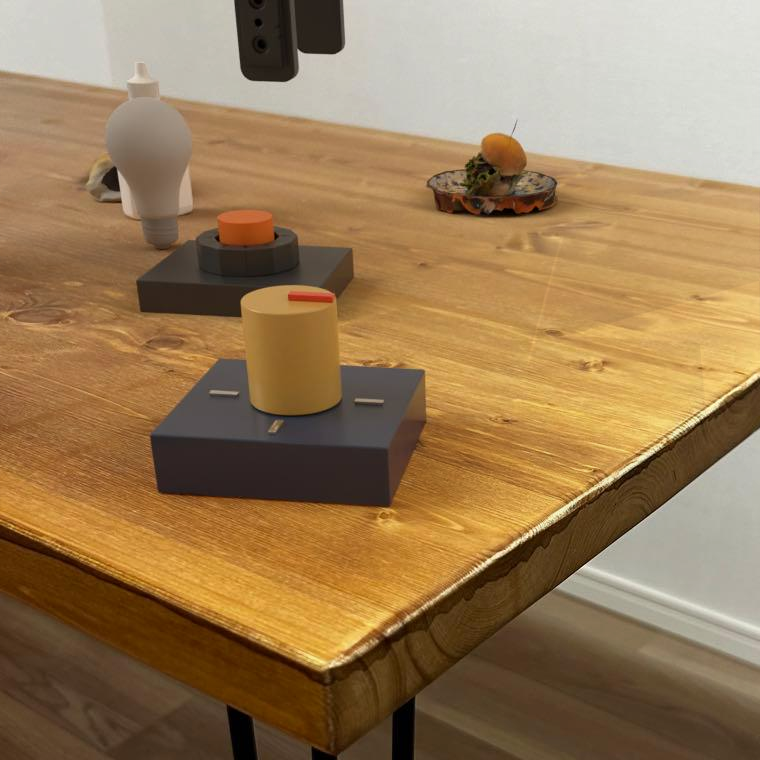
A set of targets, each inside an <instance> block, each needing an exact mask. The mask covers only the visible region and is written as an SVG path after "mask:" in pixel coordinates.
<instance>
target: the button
mask: <svg viewBox="0 0 760 760" xmlns="http://www.w3.org/2000/svg"><path fill="white" fill-rule="evenodd" d="M216 219H217V228H218V229H219V238H220V242H221V243H225V244H229V245H255V244H264V243H268V242H271V241H275V238H274V226H275V225H274V216H273V214H272V213H270V212H268V211H264V210H257V209H238V210H231V211H230V210H229V211H226V212H223V213H219V214H218V215H217V218H216Z"/></svg>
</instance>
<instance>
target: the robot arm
mask: <svg viewBox="0 0 760 760" xmlns="http://www.w3.org/2000/svg"><path fill="white" fill-rule="evenodd" d="M233 4H234V15H235V26H236V35H237V36H236V37H237V46H238V55H239V56H238V59H239V69H240V72H241V74H242V75H243V77H244V78H245V79H246V80H247V81H250V82H268V83H286V82H287V83H288V82H290V81H291V80H293V79H295V78H296V77H297V75H298V73H299V71H300V65H299V64H300V63H299V52H300V53H302V54H306V55H330V56H331V55H336V54H338V53H341V52H342V51H343V50H344V48H345V46H346V30H345V11H344V10H345V8H344V0H233Z"/></svg>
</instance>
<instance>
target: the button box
mask: <svg viewBox="0 0 760 760" xmlns="http://www.w3.org/2000/svg"><path fill="white" fill-rule="evenodd" d="M273 226H274V238H275V241H271V242H268V243H264V244H255V245H229V244H225V243H221V242H220V238H219V229H218V227H216V228H211V229H208V230H204V231H203V232H202V233H200V234H199V235H198V236H196V237H195V239H188V240H187V241H185V242H184V243H183V244H182V245H180V246H179V247H178V248H177V249H175V250H174V251H172V252H171V253H170V254H168V255H167V256H166V257H164V258H163V259H162V260H160V261H159V262H158V263H157V264H155V265H154V266H153V267H151V268H150V269H149V270H148V271H146V272H145V273H144V274H142V275H141V276H139V277H138V278H137V279H136V281H135V283H136V289H137V296H138V297H137V298H138V303H139V310H140V311H139V312H140V313H149V314H168V315H169V314H170V315H186V316H187V315H190V316H206V317H207V316H208V317H225V318H226V317H227V318H242V312H241V299H242V298H243V297H244V296H245V295H246V294H248V293H250V292H253V291H255V290H259V289H263V288H267V287H274V286H285V285H301V286H312V287H317V288H321V289H325V290H327V291H330V292H331V293H335V297H336V301H337V300H338V299H339V297H340V296H341V295H342V294H343V292H344V291H345V290H346V288H347V287H348V286H349V285H350V283H351V282H352V281H353V279H354V278H355V268H354V250H353V248H352V247H343V246H341V247H340V246H322V245H321V246H319V245H302V244H301V245H299V236H298V234H297V233H296V232H294V231H293V230H292V229H290V228H286V227H281V226H277V225H273Z"/></svg>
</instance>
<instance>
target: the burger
mask: <svg viewBox="0 0 760 760" xmlns="http://www.w3.org/2000/svg"><path fill="white" fill-rule="evenodd" d="M518 120H519V119H518V118H516V121H515V124H514V127H513V130H512V132H511V134H510V135H508V134H506V133H503V132H493V133H489V134H487V135H486V136H484V137H483V138H482V139H481V142H480V149H478V151H477V152H476V155H473V156H472V158H471V159H470V158H469V159H468V162H467V163H464V169H462V168H461V169H453V170H446V171H445V170H444V171H441V172H440V173H436V174H434V175H433V176H431V177H430V178H429V179H428V180H427V181H426V185H425V187H426V188H429V189H431V190H432V192H433V197H434V203H435V208H436V210H437V211H441V210H442V211H443V212H448V213H451V214H452V213H453V212H454V208H455V207H454V202H460V203H461V204H462V206H463V207H464V208H465V209H466V210H467V211H468V212H470V213H473V214H475V215H480V214H481V213H482V212H483V213H485V214H486V215H489V214H490V213H492V212H493V211H494V210H495V211H497V210H498V211H500V212H502V211H504V209H508V210H509V209H512V210H513V212H515V214H517V215H519V214H521V213H529V212H531V211H532V210H534V208H535V207H537V208H538V211H542V210H546V209H550V208H551V207H553V206H554V205H556V204H557V203H558V201H559V197H558V196H557V195H556V188H557V186H558V181H557V180H556V179H555V178H554V177H553V176H551V175H550V176H549V175H546V174H544V173H541V172H537V171H529V170H525V168H526V167H527V165H528V160H527V159H528V158H527V154H526V152H525V150H524V148H523V146H522V144H521V143H520V142H519V140H517V139H516V138H515V137H513V134H514V132H515V129H516V127H517V123H518Z"/></svg>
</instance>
